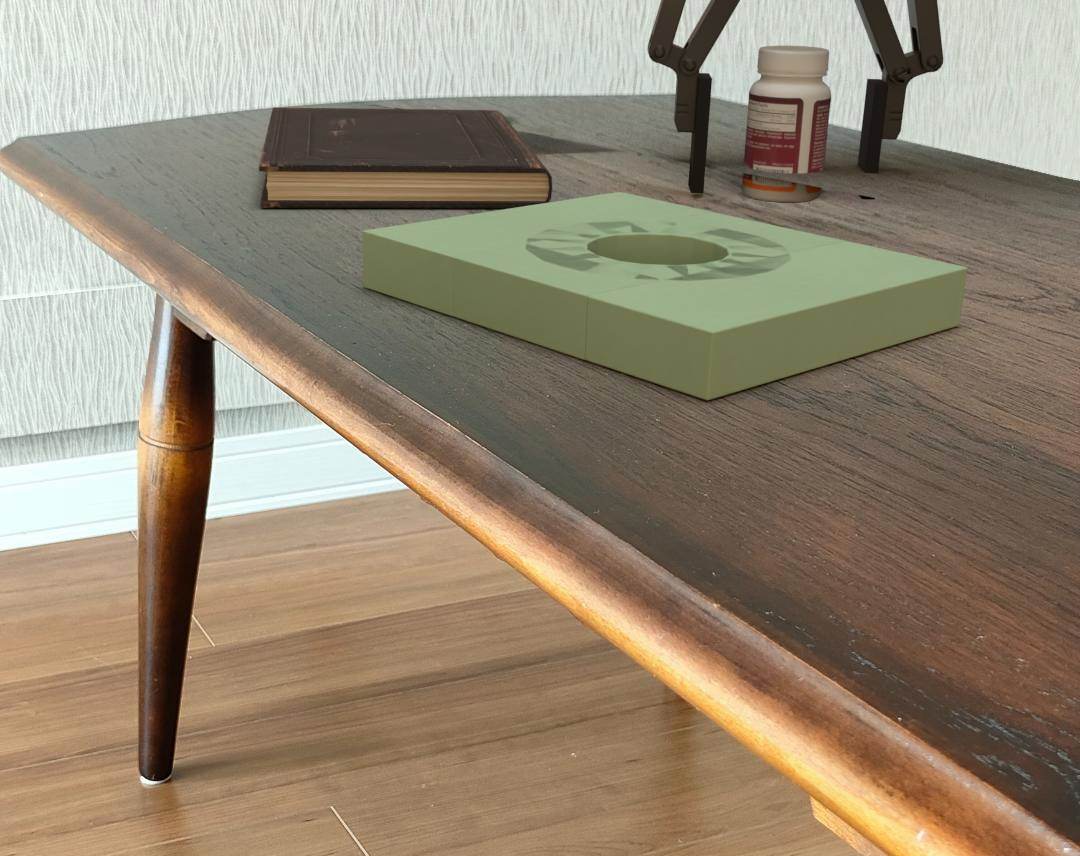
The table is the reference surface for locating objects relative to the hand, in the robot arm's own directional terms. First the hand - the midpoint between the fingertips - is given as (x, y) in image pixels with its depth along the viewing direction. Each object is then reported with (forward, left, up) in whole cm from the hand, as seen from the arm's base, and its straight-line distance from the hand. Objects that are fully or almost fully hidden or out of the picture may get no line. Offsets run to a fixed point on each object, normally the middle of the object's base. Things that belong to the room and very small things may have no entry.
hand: (779, 192), depth 86 cm
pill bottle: (0, 0, 0) cm, 0 cm away
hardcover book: (+19, +14, 0) cm, 24 cm away
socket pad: (-13, +25, 0) cm, 28 cm away
